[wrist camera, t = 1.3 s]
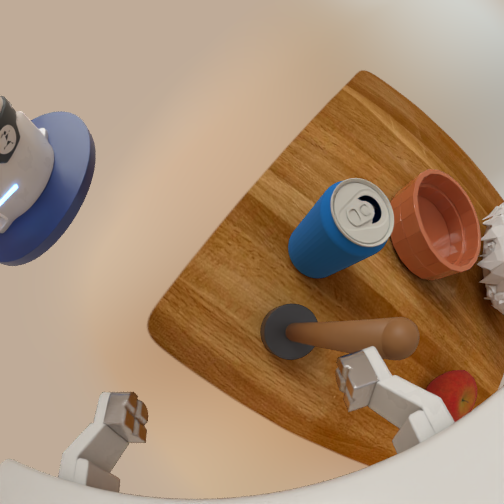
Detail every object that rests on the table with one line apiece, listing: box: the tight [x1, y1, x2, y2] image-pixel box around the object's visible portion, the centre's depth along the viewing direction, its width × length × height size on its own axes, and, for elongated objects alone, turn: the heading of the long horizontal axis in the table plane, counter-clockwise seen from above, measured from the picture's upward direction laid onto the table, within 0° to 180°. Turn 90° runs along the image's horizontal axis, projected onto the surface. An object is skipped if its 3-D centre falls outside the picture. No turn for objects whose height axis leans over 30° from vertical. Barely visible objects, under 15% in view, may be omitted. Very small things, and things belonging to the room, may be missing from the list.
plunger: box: [261, 304, 419, 360], centre depth 18 cm, size 6×6×20 cm
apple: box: [426, 370, 477, 422], centre depth 24 cm, size 8×8×8 cm
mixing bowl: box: [390, 169, 481, 280], centre depth 30 cm, size 14×14×6 cm
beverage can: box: [288, 178, 394, 278], centre depth 25 cm, size 6×6×12 cm
